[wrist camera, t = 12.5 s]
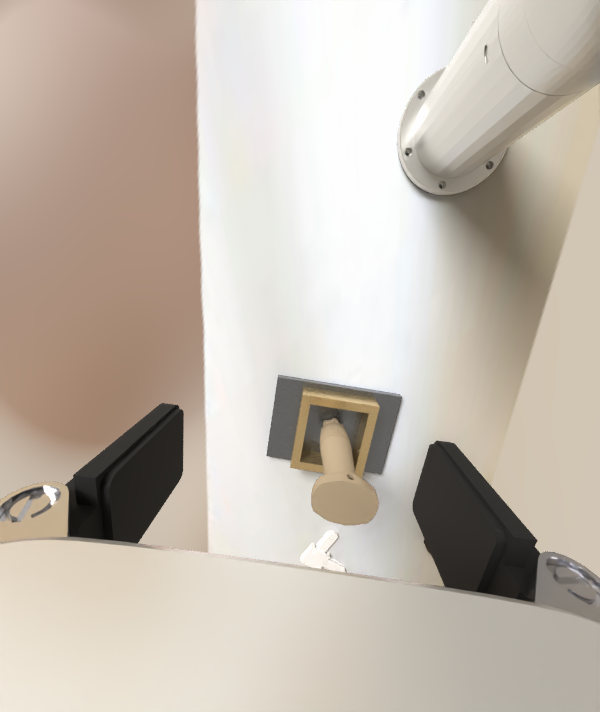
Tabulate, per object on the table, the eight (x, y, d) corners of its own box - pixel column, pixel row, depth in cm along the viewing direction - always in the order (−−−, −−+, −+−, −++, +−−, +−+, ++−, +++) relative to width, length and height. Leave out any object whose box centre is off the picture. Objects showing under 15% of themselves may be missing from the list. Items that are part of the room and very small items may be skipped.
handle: (348, 445, 42) (369, 530, 27) (307, 435, 41) (306, 516, 27) (357, 417, 40) (385, 490, 26) (315, 407, 40) (319, 474, 26)
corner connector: (363, 544, 48) (365, 552, 47) (337, 573, 50) (338, 582, 48) (325, 522, 47) (326, 530, 46) (300, 553, 49) (300, 561, 48)
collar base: (278, 374, 40) (275, 384, 36) (399, 394, 40) (409, 405, 37) (267, 452, 44) (263, 468, 40) (379, 469, 44) (386, 487, 40)
